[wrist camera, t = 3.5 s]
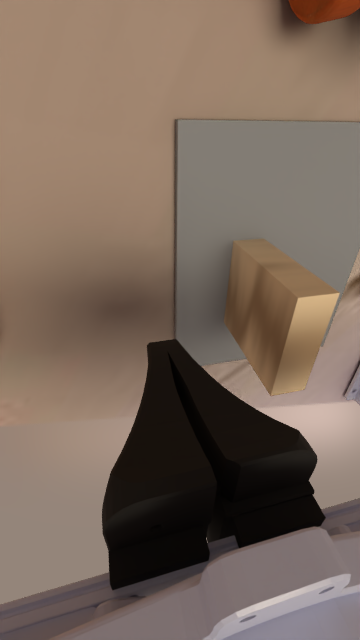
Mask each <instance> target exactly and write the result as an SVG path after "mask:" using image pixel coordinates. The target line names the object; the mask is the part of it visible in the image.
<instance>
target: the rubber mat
mask: <svg viewBox="0 0 360 640" xmlns="http://www.w3.org/2000/svg"><path fill="white" fill-rule="evenodd" d="M251 239H265V240H266V241H268V242H269V243H271V244H272V245H273V246H275V247H276V248H278V249H279V250H281V251H282V252H283V253H285V254H286V255H288V256H289V257H290V258H292V259H293V260H295V261H296V262H297V263H299V264H300V265H302V266H303V267H304V268H306V269H307V270H309V271H310V272H311V273H313V274H314V275H316V276H317V277H318V278H320V279H321V280H323V281H324V282H325V283H327V284H328V285H330V286H331V287H332V288H334V289H335V290H337V291H338V292H339V293H340V294H339V297H338V299H337V302H336V305H335V308H334V310H333V313H332V316H331V318H330V321H329V324H328V326H327V329H326V332H325V335H324V337H323V340H322V343H321V345H320V347H321V346H323V345H324V342H325V339H326V337H327V334H328V331H329V329H330V326H331V323H332V321H333V318H334V315H335V313H336V310H337V307H338V305H339V302H340V299H341V297H342V294H343V291H344V289H345V286H346V283H347V281H348V278H349V275H350V273H351V270H352V267H353V265H354V262H355V259H356V257H357V254H358V251H359V249H360V122H314V121H244V120H176V129H175V339H177V340H178V341H179V342H180V344H181V345H182V346H183V347H184V349H185V350H186V351H187V352H188V353H189V354H190V356H191V357H192V358H193V359H194V360H195V361H196V362H197V363H198V364H199V365H200V366H204V365H211V364H217V363H223V362H229V361H235V360H241V359H247V358H246V356H245V355H244V353H243V352H242V350H241V348H240V347H239V345H238V344H237V342H236V341H235V339H234V337H233V336H232V334H231V333H230V331H229V330H228V328H227V326H226V325H225V323H224V316H225V308H226V299H227V291H228V283H229V274H230V266H231V257H232V249H233V241H237V240H251Z"/></svg>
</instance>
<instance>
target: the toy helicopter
mask: <svg viewBox="0 0 360 640" xmlns="http://www.w3.org/2000/svg"><path fill="white" fill-rule="evenodd" d="M289 3H290V6H291V8H292V10H293V12H294V13H295V14H296V16H297V17H298V18H299V19H300V20H302V21H303V22H305V23H309V24H318V23H322V22H326V21H331V20H336V19H340V18H344V17H347V16H349V15H351V14H352V13H354V12H355V11H356V10H358V9H359V8H360V0H289Z"/></svg>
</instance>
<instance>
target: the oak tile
mask: <svg viewBox="0 0 360 640" xmlns="http://www.w3.org/2000/svg"><path fill="white" fill-rule="evenodd" d="M339 294H340V293H339V292H338V291H337V290H335V289H334V288H332V287H331V286H330V285H328V284H327V283H325V282H324V281H323V280H321V279H320V278H318V277H317V276H316V275H314V274H313V273H311V272H310V271H309V270H307V269H306V268H304V267H303V266H302V265H300V264H299V263H297V262H296V261H295V260H293V259H292V258H290V257H289V256H288V255H286V254H285V253H283V252H282V251H281V250H279V249H278V248H276V247H275V246H273V245H272V244H271V243H269V242H268V241H266V240H265V239H251V240H237V241H233V249H232V257H231V266H230V274H229V283H228V291H227V299H226V308H225V316H224V323H225V325H226V326H227V328H228V330H229V331H230V333H231V334H232V336H233V337H234V339H235V341H236V342H237V344H238V345H239V347H240V348H241V350H242V352H243V353H244V355H245V356H246V358H247V359H248V361H249V363H250V364H251V366H252V367H253V369H254V370H255V372H256V374H257V375H258V377H259V378H260V380H261V382H262V383H263V385H264V386H265V388H266V389H267V391H268V393H269V394H270V396H274V395H279V394H284V393H289V392H294V391H300V390H304V389H305V386H306V383H307V381H308V378H309V375H310V373H311V370H312V367H313V364H314V362H315V359H316V356H317V354H318V351H319V348H320V345H321V343H322V340H323V337H324V335H325V332H326V329H327V326H328V324H329V321H330V318H331V316H332V313H333V310H334V308H335V305H336V302H337V299H338V297H339Z"/></svg>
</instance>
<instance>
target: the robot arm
mask: <svg viewBox="0 0 360 640" xmlns="http://www.w3.org/2000/svg"><path fill="white" fill-rule="evenodd" d="M147 353H148V370H147V378H146V383H145V388H144V392H143V396H142V400H141V404H140V407H139V410H138V413H137V416H136V419H135V422H134V424H133V427H132V430H131V432H130V434H129V436H128V439H127V441H126V443H125V445H124V448H123V450H122V452H121V454H120V456H119V458H118V459H117V461H116V463H115V465H114V467H113V469H112V471H111V473H110V478H109V481H108V484H107V488H106V493H105V497H104V502H103V509H102V526H103V536H104V539H105V542H106V544H107V547H108V550H109V573H105V574H102V575H99V576H95V577H92V578H88V579H85V580H82V581H78V582H75V583H71V584H68V585H65V586H61V587H58V588H55V589H51V590H48V591H45V592H41V593H38V594H34V595H31V596H28V597H24V598H21V599H18V600H14V601H11V602H8V603H4V604H1V605H0V640H360V498H358V499H355V500H352V501H348V502H345V503H341V504H338V505H335V506H331V507H328V508H325V509H320V507H319V505H318V504H317V502H316V500H315V498H314V497H313V495H312V494H314V489H313V487H312V486H311V484H310V482H309V478H310V477H311V475H312V473H313V471H314V469H315V466H316V464H317V455H316V454H315V452H314V451H313V449H312V448H311V446H310V445H309V443H308V442H307V440H306V439H305V438H304V437H303V436H302V434H301V433H300V432H299V431H298V430H297V429H294V428H292V427H290V426H288V425H286V424H283V423H281V422H279V421H277V420H275V419H273V418H271V417H269V416H267V415H265V414H263V413H262V412H260V411H258V410H256V409H255V408H253V407H252V406H250V405H248V404H247V403H245V402H244V401H242V400H240V399H239V398H238V397H236V396H235V395H233V394H232V393H231V392H229V391H228V390H227V389H225V388H224V387H223V386H222V385H220V384H219V383H218V382H217V381H216V380H215V379H214V378H212V377H211V376H210V375H209V374H208V373H207V372H206V371H205V370H204V369H203V368H202V367H201V366H200V365H199V364H198V363H197V362H196V361H195V360H194V359H193V358H192V357H191V356H190V354H189V353H188V352H187V351H186V350H185V349H184V347H183V346H182V345H181V344H180V342H179V341H178V340H177V339H173V340H166V341H159V342H152V343H149V344H148V345H147ZM344 397H345V398H346V399H347V400H352V399H355V401H356V402H357V403H358V404H359V405H360V365H359V367H358V369H357V371H356V373H355V375H354V377H353V379H352V382H351V384H350V386H349V388H348V390H347V392H346V394H345V396H344ZM206 537H207V540H206ZM207 541H208V543H207Z"/></svg>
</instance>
